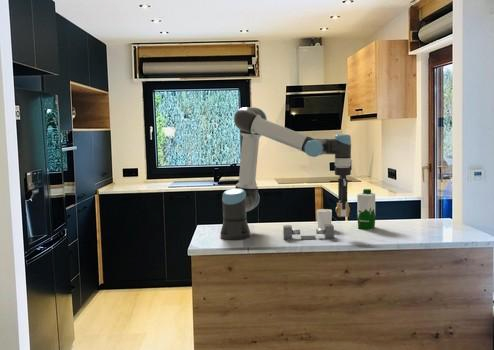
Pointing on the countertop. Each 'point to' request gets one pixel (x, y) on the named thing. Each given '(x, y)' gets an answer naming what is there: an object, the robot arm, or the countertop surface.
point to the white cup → (323, 217)
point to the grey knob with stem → (327, 231)
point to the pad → (308, 237)
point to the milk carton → (366, 209)
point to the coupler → (340, 209)
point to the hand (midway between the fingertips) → (342, 214)
